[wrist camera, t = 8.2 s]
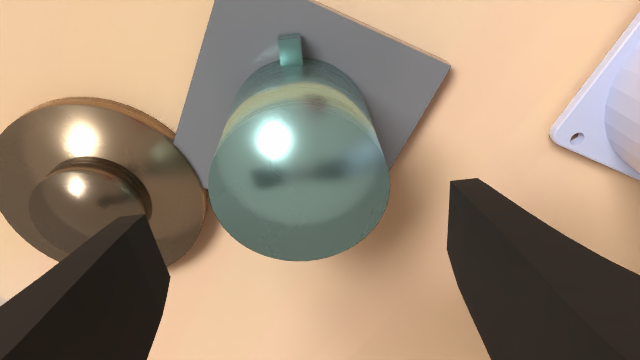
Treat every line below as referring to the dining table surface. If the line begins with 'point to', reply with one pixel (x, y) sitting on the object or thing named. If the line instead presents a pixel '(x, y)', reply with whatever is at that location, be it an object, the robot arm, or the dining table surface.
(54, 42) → the dining table surface
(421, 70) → the coaster
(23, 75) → the dining table surface
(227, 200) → the teal mug
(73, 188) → the bronze metal disc
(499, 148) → the dining table surface
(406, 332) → the dining table surface
